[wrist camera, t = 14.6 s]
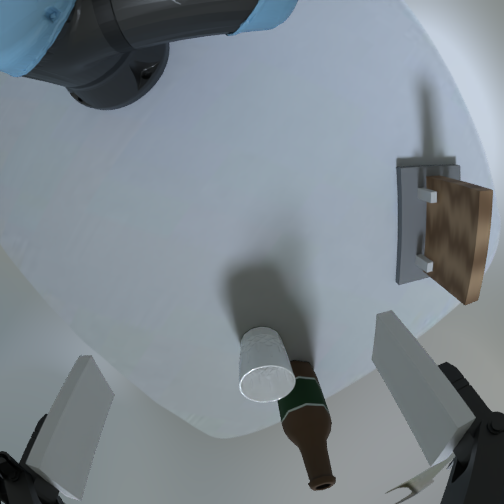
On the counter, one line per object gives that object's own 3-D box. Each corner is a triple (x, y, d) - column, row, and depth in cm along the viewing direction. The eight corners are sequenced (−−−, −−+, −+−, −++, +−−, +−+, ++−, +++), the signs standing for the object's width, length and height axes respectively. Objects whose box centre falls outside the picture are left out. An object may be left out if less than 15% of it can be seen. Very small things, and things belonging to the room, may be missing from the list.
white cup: (289, 325, 46) (302, 366, 36) (278, 361, 48) (287, 403, 39) (240, 320, 45) (243, 363, 35) (233, 357, 47) (235, 401, 38)
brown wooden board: (426, 176, 37) (479, 191, 26) (443, 175, 37) (496, 189, 26) (422, 271, 43) (464, 305, 32) (438, 266, 43) (481, 298, 32)
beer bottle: (322, 368, 50) (362, 476, 28) (294, 392, 52) (320, 498, 29) (293, 352, 48) (327, 472, 25) (264, 378, 50) (282, 494, 27)
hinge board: (396, 167, 38) (413, 170, 33) (455, 164, 38) (473, 168, 33) (395, 281, 44) (409, 294, 40) (450, 267, 45) (465, 277, 40)
